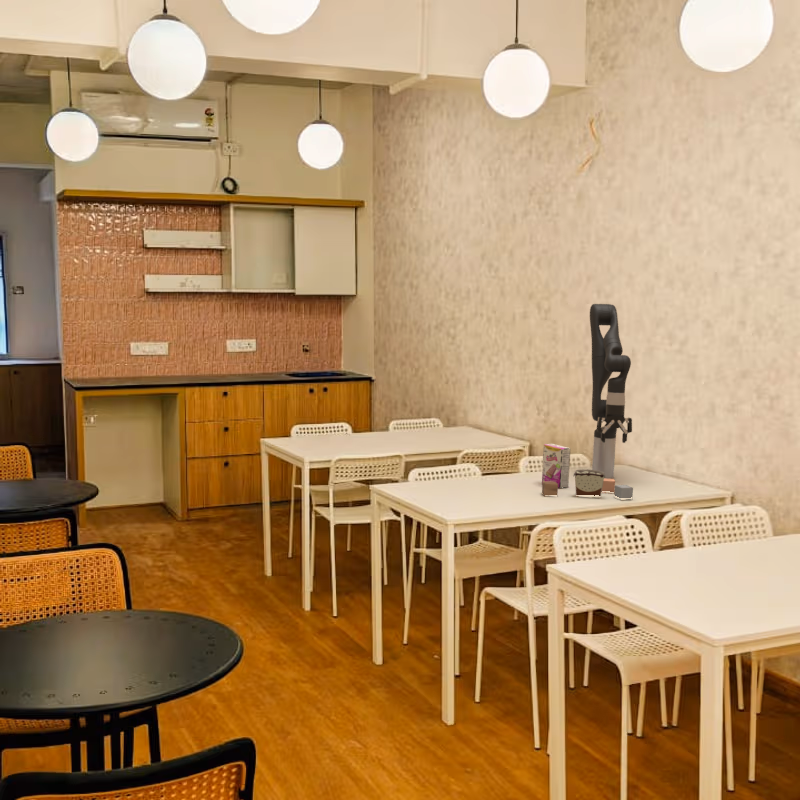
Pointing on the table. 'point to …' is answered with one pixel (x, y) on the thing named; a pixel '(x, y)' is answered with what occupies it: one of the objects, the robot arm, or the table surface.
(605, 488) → the terracotta block
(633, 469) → the table surface
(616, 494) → the slate grey block
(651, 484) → the table surface
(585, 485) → the food container
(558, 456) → the candy bar box
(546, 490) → the walnut block
